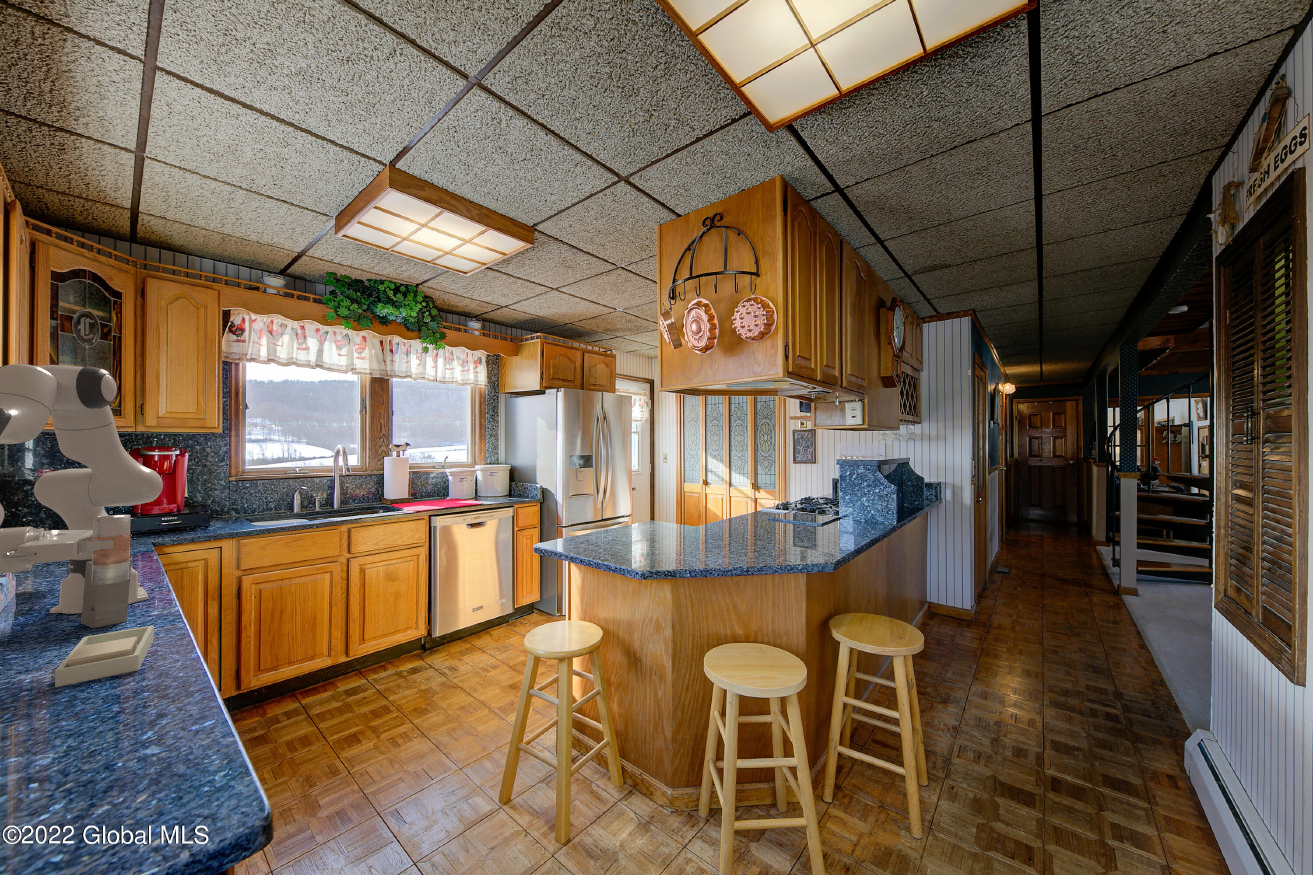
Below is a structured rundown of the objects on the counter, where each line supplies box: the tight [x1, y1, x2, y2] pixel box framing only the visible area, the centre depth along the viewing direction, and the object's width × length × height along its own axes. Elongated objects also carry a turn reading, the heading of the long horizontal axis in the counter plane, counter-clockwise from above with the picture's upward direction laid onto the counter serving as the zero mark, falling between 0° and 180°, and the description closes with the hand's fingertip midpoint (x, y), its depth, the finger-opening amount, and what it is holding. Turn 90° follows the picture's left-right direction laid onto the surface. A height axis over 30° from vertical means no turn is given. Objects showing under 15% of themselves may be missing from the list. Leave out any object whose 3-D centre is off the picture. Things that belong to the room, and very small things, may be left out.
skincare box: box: [80, 561, 132, 629], centre depth 129 cm, size 8×7×16 cm
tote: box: [54, 624, 155, 688], centre depth 104 cm, size 21×11×4 cm, turn 39°
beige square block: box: [68, 636, 138, 667], centre depth 101 cm, size 8×8×4 cm
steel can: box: [92, 514, 131, 585], centre depth 109 cm, size 6×6×14 cm
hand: (117, 541), depth 110 cm, fingers closed on steel can, 6 cm apart
